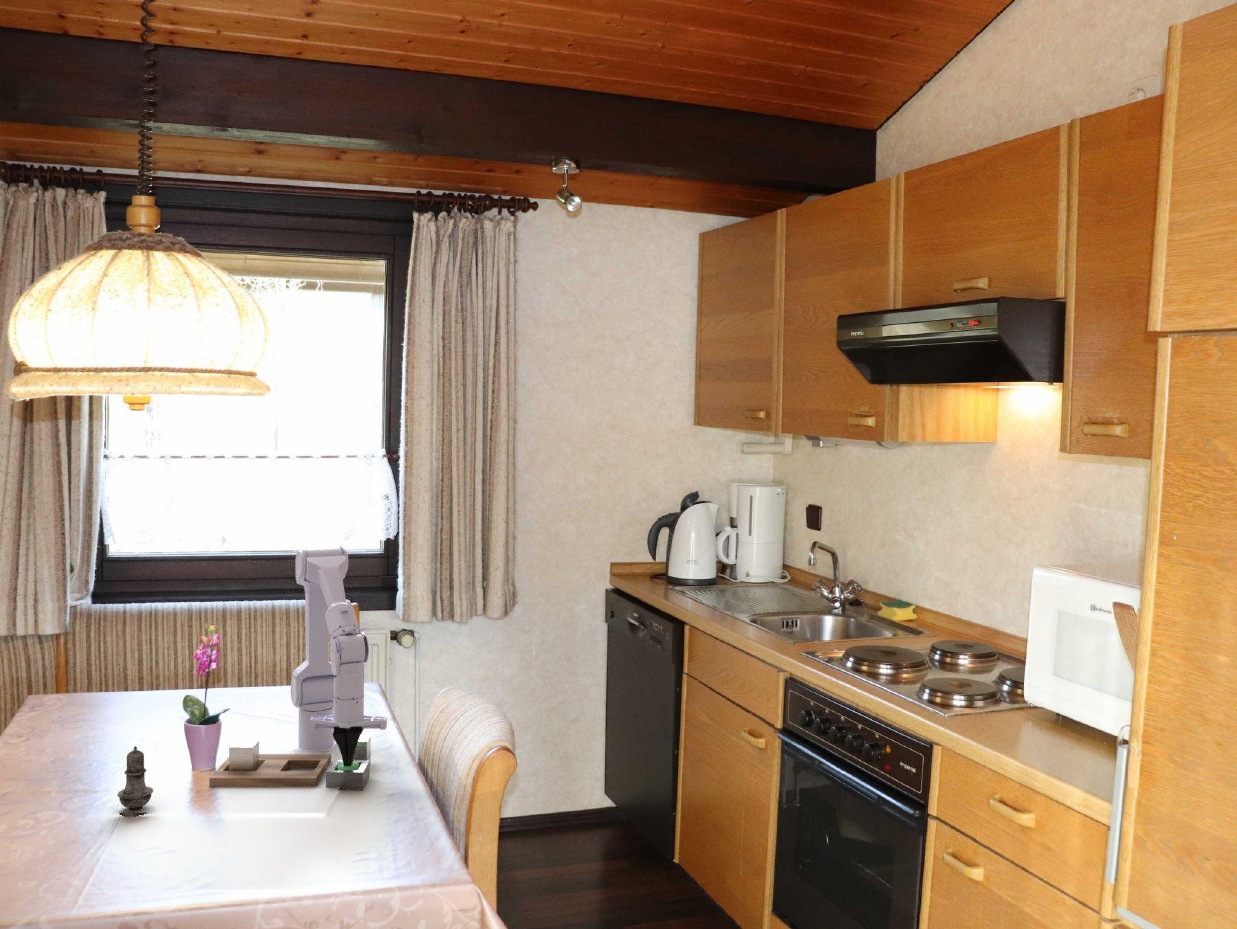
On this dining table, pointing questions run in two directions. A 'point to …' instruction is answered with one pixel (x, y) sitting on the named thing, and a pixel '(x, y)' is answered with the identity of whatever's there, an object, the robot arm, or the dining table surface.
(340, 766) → the button
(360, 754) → the block
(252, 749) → the block
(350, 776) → the button box
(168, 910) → the dining table surface
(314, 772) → the wooden socket board
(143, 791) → the salt shaker
